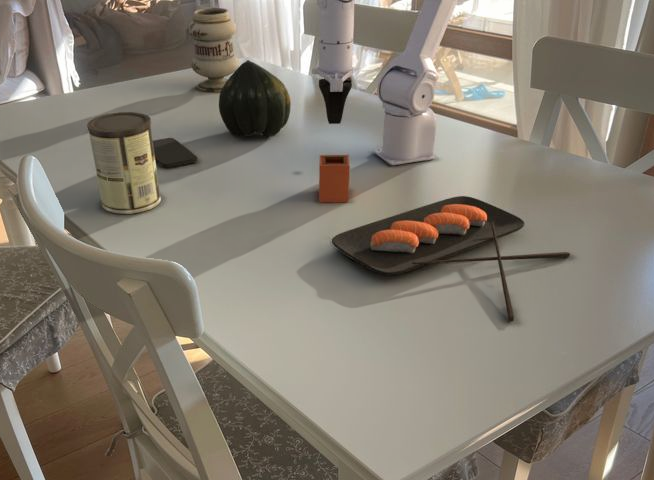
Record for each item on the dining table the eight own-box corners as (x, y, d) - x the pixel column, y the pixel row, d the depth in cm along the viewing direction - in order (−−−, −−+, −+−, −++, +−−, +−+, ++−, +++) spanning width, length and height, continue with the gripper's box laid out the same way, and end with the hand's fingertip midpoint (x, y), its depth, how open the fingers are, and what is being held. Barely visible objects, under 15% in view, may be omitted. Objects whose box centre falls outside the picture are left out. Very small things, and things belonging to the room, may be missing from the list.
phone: (172, 136, 149) (199, 157, 138) (173, 140, 150) (199, 161, 138) (138, 143, 146) (163, 164, 135) (139, 147, 147) (163, 169, 136)
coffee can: (119, 188, 129) (107, 109, 121) (170, 194, 126) (161, 114, 118) (89, 210, 121) (74, 128, 113) (143, 217, 118) (131, 133, 110)
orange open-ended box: (347, 190, 125) (348, 202, 121) (319, 190, 126) (319, 202, 122) (348, 154, 122) (349, 165, 118) (319, 154, 122) (319, 165, 118)
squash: (272, 124, 140) (284, 52, 141) (202, 121, 144) (214, 51, 145) (290, 152, 153) (301, 87, 154) (226, 150, 157) (237, 85, 159)
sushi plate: (463, 203, 120) (466, 181, 117) (619, 274, 99) (626, 249, 96) (322, 249, 107) (323, 226, 105) (467, 341, 86) (472, 315, 84)
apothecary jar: (188, 92, 179) (180, 15, 169) (199, 80, 189) (193, 6, 179) (234, 93, 177) (230, 15, 167) (244, 81, 187) (240, 6, 177)
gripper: (312, 31, 124) (312, 110, 132) (311, 51, 112) (311, 136, 120) (352, 30, 123) (350, 109, 131) (356, 50, 112) (353, 135, 119)
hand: (334, 122), depth 125 cm, fingers closed
